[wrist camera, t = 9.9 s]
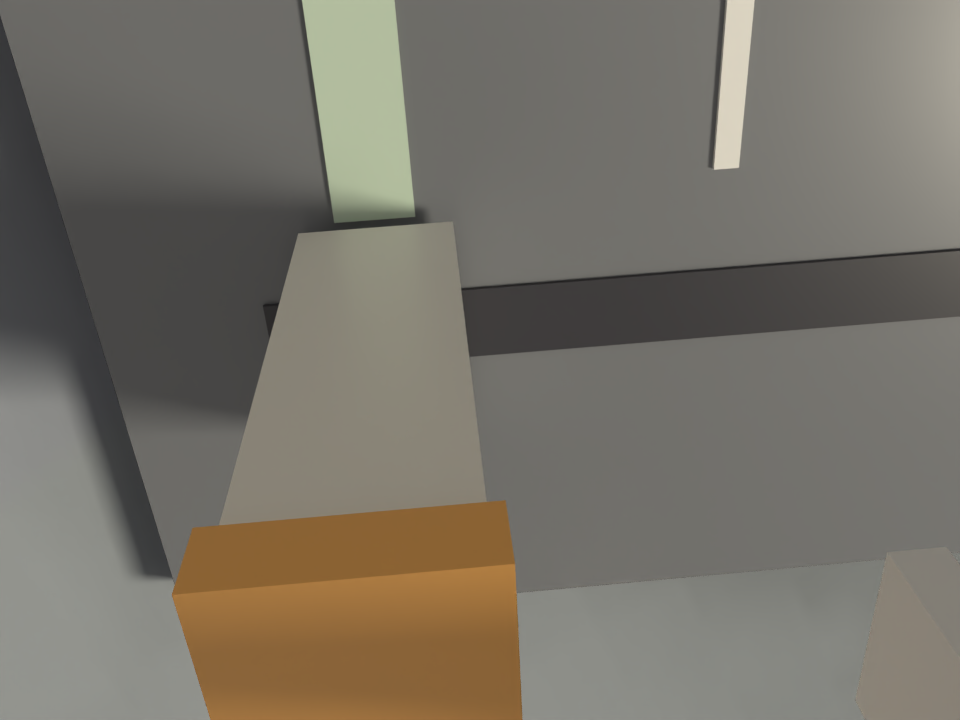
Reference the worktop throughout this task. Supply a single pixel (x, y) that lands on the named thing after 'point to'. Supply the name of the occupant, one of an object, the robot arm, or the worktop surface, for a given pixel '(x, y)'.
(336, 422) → the fader knob
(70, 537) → the worktop surface
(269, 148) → the fader panel
